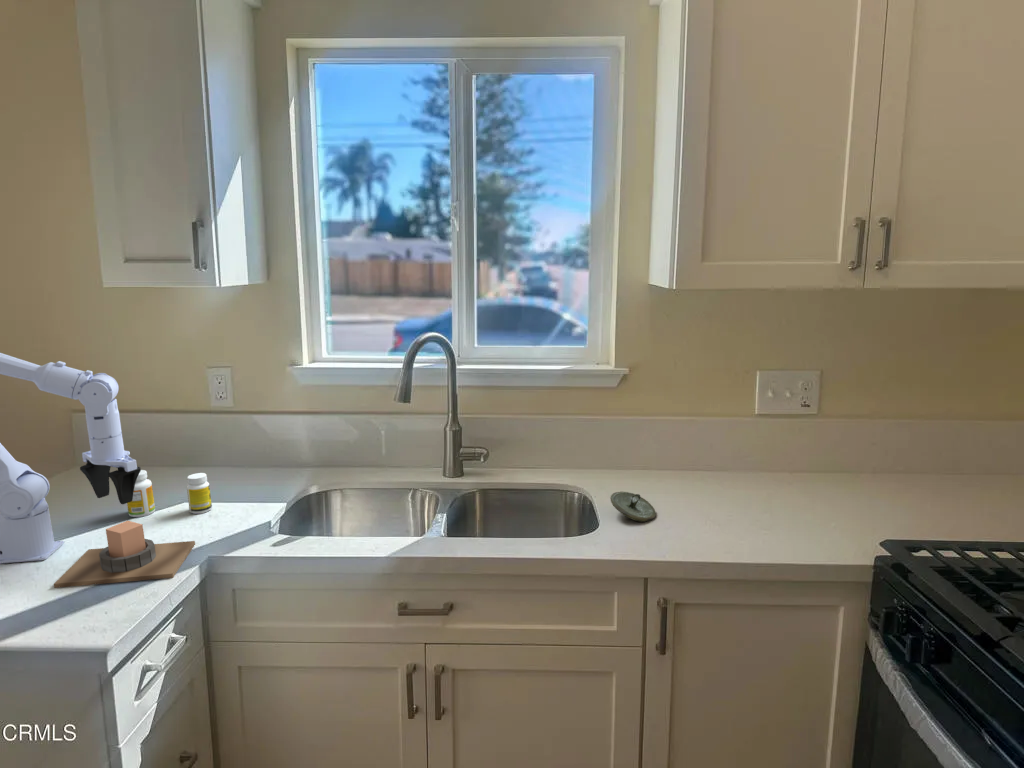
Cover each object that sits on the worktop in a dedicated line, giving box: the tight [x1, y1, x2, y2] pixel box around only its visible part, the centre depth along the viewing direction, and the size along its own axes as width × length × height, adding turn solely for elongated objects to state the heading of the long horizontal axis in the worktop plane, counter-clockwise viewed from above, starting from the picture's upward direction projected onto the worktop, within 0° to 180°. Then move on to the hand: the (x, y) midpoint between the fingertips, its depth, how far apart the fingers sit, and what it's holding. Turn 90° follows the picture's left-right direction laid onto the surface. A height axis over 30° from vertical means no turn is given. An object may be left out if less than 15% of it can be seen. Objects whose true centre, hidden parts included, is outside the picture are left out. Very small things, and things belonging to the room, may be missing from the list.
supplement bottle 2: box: [186, 472, 213, 515], centre depth 154 cm, size 5×5×8 cm
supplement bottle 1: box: [126, 469, 156, 518], centre depth 153 cm, size 5×5×10 cm
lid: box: [609, 491, 657, 523], centre depth 148 cm, size 11×10×5 cm
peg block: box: [105, 520, 146, 558], centre depth 128 cm, size 4×4×7 cm
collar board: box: [53, 538, 196, 589], centre depth 128 cm, size 20×14×3 cm
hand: (114, 499), depth 137 cm, fingers open, 7 cm apart
